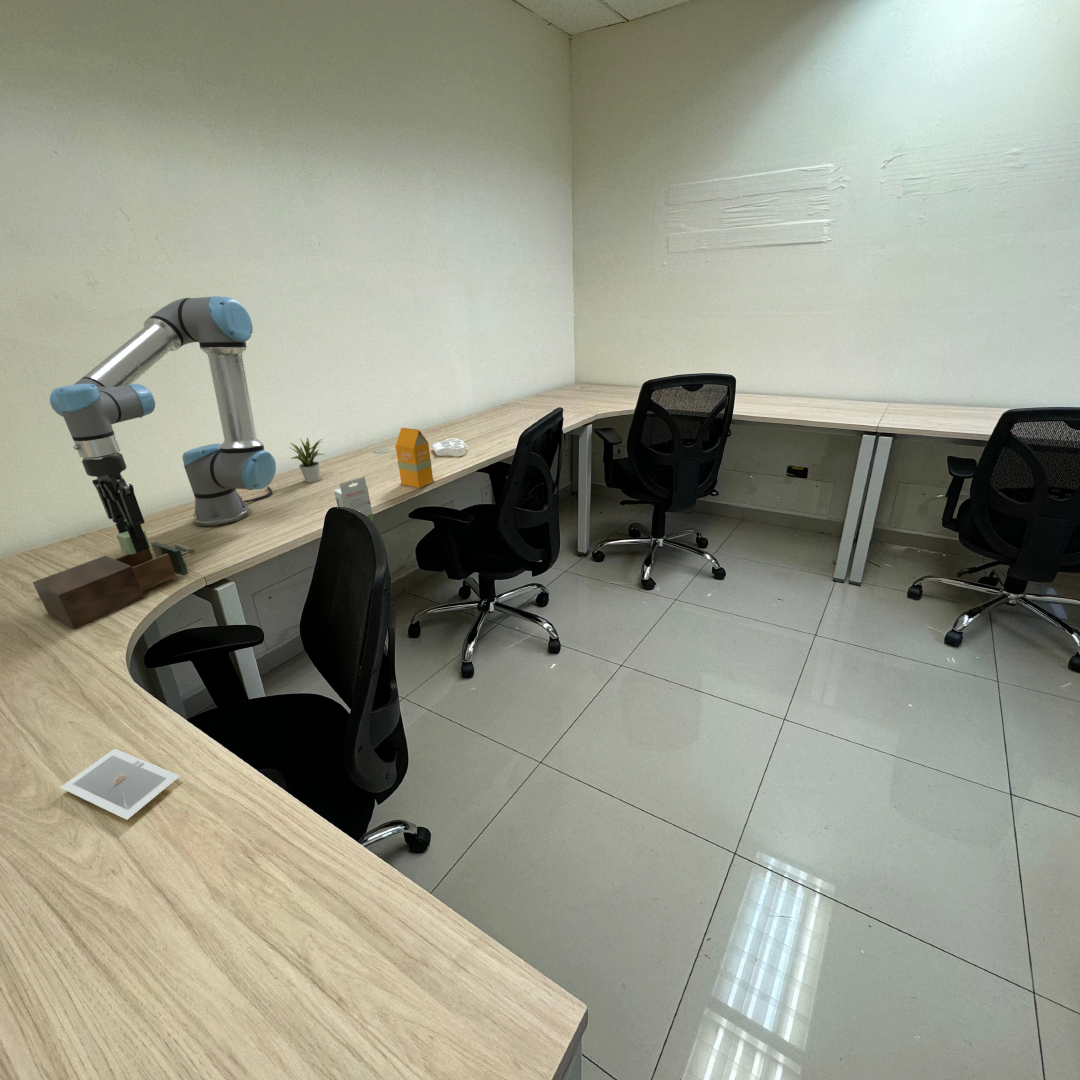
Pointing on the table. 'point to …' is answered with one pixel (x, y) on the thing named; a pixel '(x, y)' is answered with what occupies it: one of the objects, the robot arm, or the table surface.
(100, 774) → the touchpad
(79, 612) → the cabinet
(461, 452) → the white flat lumpy piece
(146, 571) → the drawer
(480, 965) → the table surface
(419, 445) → the orange juice
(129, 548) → the block
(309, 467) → the house plant
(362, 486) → the ink box
